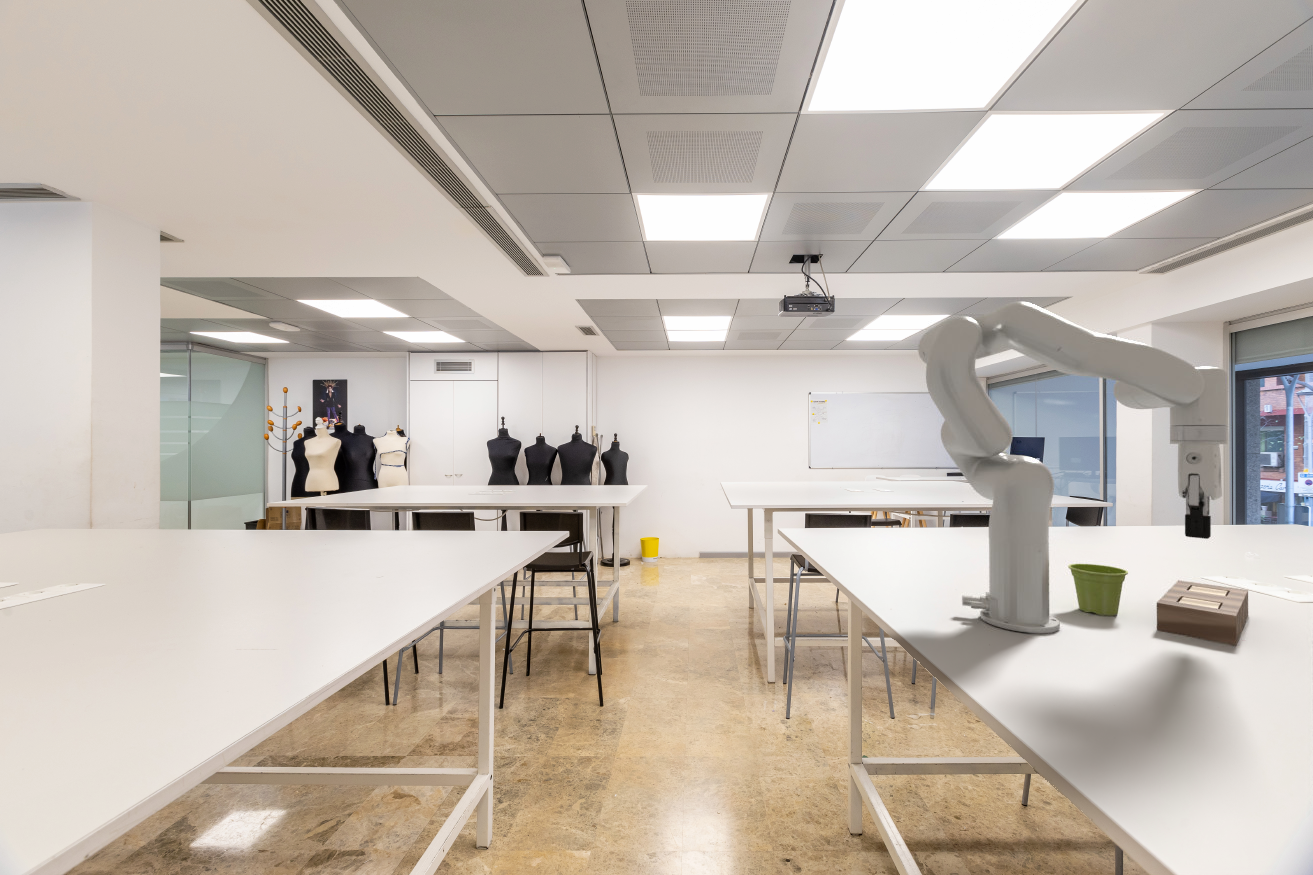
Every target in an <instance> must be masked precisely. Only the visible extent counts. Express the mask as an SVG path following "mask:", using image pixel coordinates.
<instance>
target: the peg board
mask: <svg viewBox="0 0 1313 875" xmlns="http://www.w3.org/2000/svg"><path fill="white" fill-rule="evenodd" d="M1192 586H1196V587H1203V588H1210V589H1217V590H1224V591H1228V595H1227V596H1223V595H1217V594H1210V593H1203V592H1196V591H1190V590H1189V589H1190V588H1191V587H1192ZM1183 597H1185V598H1191V599H1198V600H1204V601H1210V602H1217V603H1221V608H1220V609H1217V608H1211V607H1205V606H1199V605H1192V604H1186V603H1180V602H1179V601H1180V600H1181V599H1182V598H1183ZM1248 617H1249V589H1242V588H1237V587H1229V586H1221V585H1217V584H1216V585H1215V584H1207V583H1200V582H1199V583H1198V582H1192V581H1187V580H1186V581H1185V580H1179V579H1177V581H1176V582H1175V583H1174V584H1173V585H1172V586H1171V587H1170V588H1169V589H1168V590H1167V591H1166V592H1165V593H1164V595H1162V597H1161V598H1159V599H1158V601H1157V602H1156V631H1159V632H1165V633H1169V634H1170V633H1171V634H1174V635H1179V636H1180V635H1181V636H1185V637H1190V638H1193V639H1194V638H1196V639H1200V640H1204V641H1205V640H1206V641H1211V642H1216V643H1220V644H1226V645H1232V646H1237V645H1238V643H1239V640H1240V638H1241V635H1242V632H1243V630H1244V628H1245V625H1246V623H1247V620H1248Z"/></svg>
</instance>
